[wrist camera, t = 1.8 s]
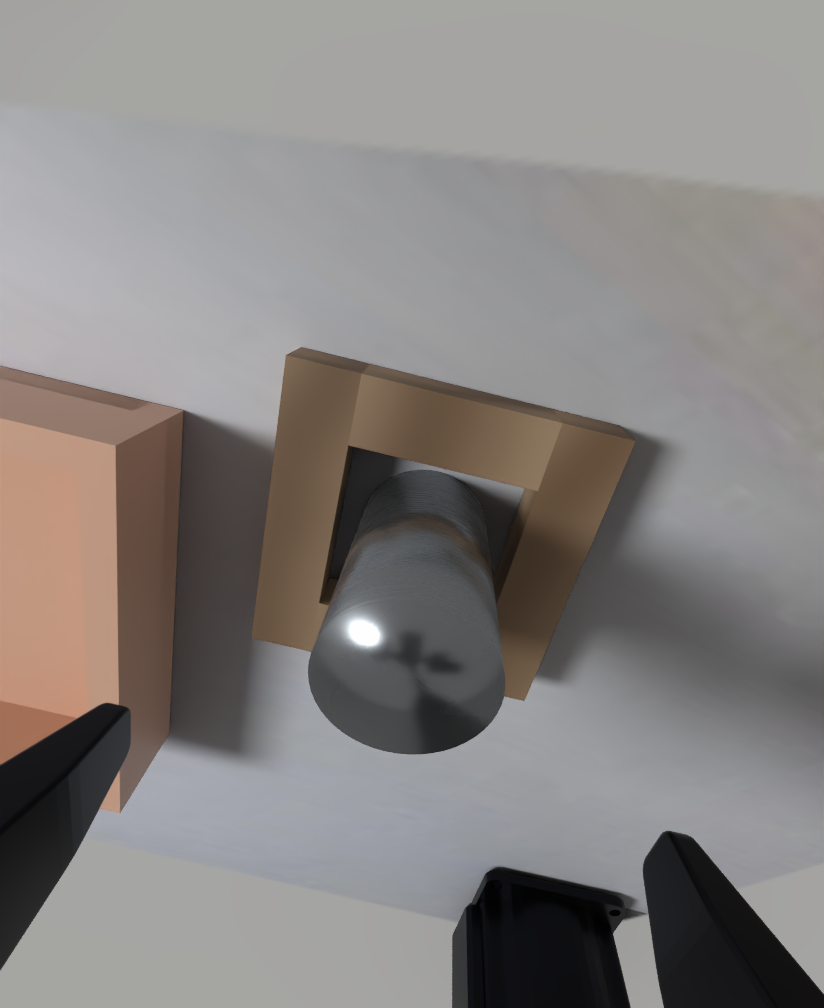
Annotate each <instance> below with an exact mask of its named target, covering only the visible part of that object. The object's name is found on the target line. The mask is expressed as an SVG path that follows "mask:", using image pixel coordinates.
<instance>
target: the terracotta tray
mask: <svg viewBox="0 0 824 1008" xmlns="http://www.w3.org/2000/svg"><path fill="white" fill-rule="evenodd" d="M182 432H183V410H179V409H175V408H171V407H167V406H163V405H159V404H155V403H151V402H146V401H142V400H138V399H134V398H130V397H126V396H122V395H117V394H113V393H109V392H105V391H101V390H97V389H93V388H89V387H84V386H80V385H76V384H72V383H68V382H64V381H60V380H56V379H51V378H47V377H43V376H39V375H35V374H31V373H27V372H22V371H18V370H14V369H10V368H6V367H2V366H0V764H2V763H4V762H5V761H7V760H9V759H10V758H12V757H14V756H15V755H17V754H19V753H20V752H22V751H24V750H25V749H27V748H29V747H30V746H32V745H34V744H35V743H37V742H38V741H40V740H42V739H43V738H45V737H47V736H48V735H50V734H52V733H53V732H55V731H57V730H58V729H60V728H62V727H63V726H65V725H67V724H68V723H70V722H72V721H73V720H75V719H77V718H78V717H80V716H82V715H83V714H85V713H87V712H88V711H90V710H92V709H93V708H95V707H97V706H98V705H100V704H103V703H112V704H117V705H121V706H126V707H128V708H129V709H130V711H131V745H130V749H129V752H128V754H127V757H126V759H125V761H124V763H123V764H122V766H121V768H120V770H119V772H118V774H117V776H116V778H115V780H114V782H113V784H112V785H111V787H110V789H109V791H108V793H107V795H106V797H105V799H104V801H103V803H102V804H101V806H100V808H99V809H104V810H109V811H113V812H118V813H121V811H122V809H123V808H124V806H125V804H126V803H127V801H128V800H129V798H130V796H131V795H132V793H133V791H134V790H135V788H136V787H137V785H138V783H139V782H140V780H141V778H142V777H143V775H144V774H145V772H146V770H147V769H148V767H149V765H150V764H151V762H152V761H153V759H154V757H155V756H156V754H157V752H158V751H159V749H160V748H161V746H162V744H163V743H164V741H165V739H166V738H167V736H168V734H169V728H170V706H171V683H172V660H173V637H174V614H175V592H176V569H177V546H178V523H179V501H180V478H181V455H182Z"/></svg>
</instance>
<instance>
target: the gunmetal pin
mask: <svg viewBox="0 0 824 1008" xmlns="http://www.w3.org/2000/svg"><path fill="white" fill-rule="evenodd" d="M308 677H309V684H310V688H311V692H312V694H313V697H314V699H315V701H316V703H317V705H318V707H319V708H320V710H321V711H322V712H323V714H324V715H325V716H326V718H327V719H328V720H329V721H330V722H331V723H332V724H333V725H334V726H336V727H337V728H338V729H339V730H341V731H342V732H343V733H345V734H346V735H348V736H349V737H351V738H353V739H355V740H357V741H359V742H361V743H363V744H365V745H368V746H370V747H373V748H376V749H380V750H383V751H387V752H393V753H400V754H427V753H435V752H440V751H444V750H448V749H451V748H454V747H456V746H459V745H461V744H463V743H465V742H467V741H469V740H470V739H472V738H474V737H475V736H477V735H478V734H479V733H480V732H482V731H483V730H484V729H485V728H486V727H487V726H488V725H489V724H490V723H491V722H492V720H493V719H494V717H495V716H496V715H497V713H498V711H499V709H500V707H501V704H502V701H503V698H504V693H505V671H504V663H503V655H502V647H501V639H500V631H499V624H498V616H497V608H496V600H495V592H494V584H493V576H492V568H491V560H490V552H489V544H488V536H487V528H486V520H485V515H484V512H483V509H482V506H481V504H480V502H479V500H478V499H477V497H476V496H475V495H474V493H473V492H472V491H471V490H470V489H469V488H468V487H467V486H466V485H464V484H463V483H462V482H460V481H459V480H457V479H456V478H454V477H452V476H449V475H447V474H444V473H441V472H436V471H431V470H415V471H409V472H404V473H401V474H398V475H396V476H394V477H392V478H390V479H389V480H387V481H385V482H384V483H383V484H382V485H380V486H379V487H378V488H377V489H376V490H375V492H374V493H373V494H372V496H371V497H370V499H369V500H368V503H367V505H366V507H365V510H364V513H363V515H362V518H361V521H360V523H359V526H358V529H357V531H356V534H355V537H354V539H353V542H352V545H351V547H350V550H349V553H348V555H347V558H346V561H345V564H344V566H343V569H342V572H341V574H340V577H339V580H338V582H337V585H336V588H335V590H334V593H333V596H332V598H331V601H330V604H329V607H328V609H327V612H326V615H325V617H324V620H323V623H322V625H321V628H320V631H319V633H318V636H317V639H316V641H315V644H314V647H313V649H312V652H311V656H310V660H309V667H308Z"/></svg>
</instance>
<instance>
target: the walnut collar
mask: <svg viewBox="0 0 824 1008" xmlns="http://www.w3.org/2000/svg"><path fill="white" fill-rule="evenodd" d="M635 442H636V441H635V440H634V439H633V438H632V437H631V436H630V435H629V434H628V433H627V432H626V431H625V430H623V429H622V428H621V427H620V426H619V425H615V424H611V423H607V422H602V421H598V420H594V419H590V418H586V417H582V416H578V415H574V414H570V413H566V412H562V411H558V410H554V409H550V408H546V407H542V406H538V405H534V404H530V403H525V402H521V401H517V400H513V399H509V398H505V397H501V396H497V395H493V394H489V393H485V392H481V391H477V390H473V389H469V388H465V387H461V386H457V385H453V384H448V383H444V382H440V381H436V380H432V379H428V378H424V377H420V376H416V375H412V374H408V373H404V372H400V371H396V370H392V369H388V368H384V367H380V366H376V365H371V364H367V363H363V362H359V361H355V360H351V359H347V358H343V357H339V356H335V355H331V354H327V353H323V352H319V351H315V350H311V349H307V348H303V347H301V348H299V349H297V350H295V351H293V352H291V353H289V354H287V355H286V360H285V368H284V376H283V384H282V393H281V401H280V409H279V417H278V425H277V433H276V441H275V449H274V458H273V466H272V474H271V482H270V490H269V498H268V506H267V514H266V522H265V531H264V539H263V547H262V555H261V563H260V571H259V579H258V587H257V595H256V604H255V612H254V620H253V628H252V636H251V638H254V639H259V640H263V641H267V642H272V643H276V644H280V645H285V646H289V647H293V648H298V649H302V650H306V651H311V652H312V649H313V647H314V644H315V641H316V639H317V636H318V633H319V631H320V628H321V625H322V623H323V620H324V617H325V615H326V612H327V609H328V607H329V604H330V601H331V598H332V596H333V593H334V590H335V588H336V585H337V582H338V580H336V579H332V578H329V576H330V571H331V566H332V561H333V556H334V550H335V545H336V540H337V535H338V529H339V524H340V519H341V514H342V508H343V503H344V498H345V493H346V488H347V482H348V477H349V472H350V467H351V461H352V456H353V451H354V447H357V448H361V449H366V450H370V451H374V452H378V453H382V454H386V455H390V456H394V457H399V458H403V459H407V460H411V461H415V462H419V463H423V464H427V465H432V466H436V467H440V468H444V469H448V470H452V471H456V472H460V473H465V474H469V475H473V476H477V477H481V478H485V479H489V480H493V481H498V482H502V483H506V484H510V485H514V486H518V487H522V488H525V490H524V493H523V496H522V498H521V501H520V504H519V507H518V510H517V513H516V516H515V518H514V521H513V524H512V527H511V530H510V533H509V536H508V538H507V541H506V544H505V547H504V550H503V553H502V556H501V558H500V561H499V564H498V567H497V570H496V573H495V576H494V579H493V584H494V592H495V600H496V608H497V616H498V624H499V631H500V639H501V647H502V655H503V663H504V671H505V693H504V696H505V697H510V698H514V699H518V700H523V701H524V700H525V698H526V696H527V693H528V691H529V689H530V686H531V684H532V682H533V679H534V677H535V675H536V672H537V670H538V668H539V665H540V663H541V661H542V659H543V656H544V654H545V652H546V649H547V647H548V645H549V642H550V640H551V638H552V635H553V633H554V631H555V628H556V626H557V624H558V621H559V619H560V617H561V614H562V612H563V610H564V607H565V605H566V603H567V600H568V598H569V596H570V593H571V591H572V589H573V586H574V584H575V582H576V579H577V577H578V575H579V572H580V570H581V568H582V565H583V563H584V561H585V558H586V556H587V554H588V551H589V549H590V547H591V544H592V542H593V540H594V537H595V535H596V533H597V530H598V528H599V526H600V523H601V521H602V519H603V516H604V514H605V512H606V509H607V507H608V505H609V502H610V500H611V498H612V495H613V493H614V491H615V489H616V486H617V484H618V482H619V479H620V477H621V475H622V472H623V470H624V468H625V465H626V463H627V461H628V458H629V456H630V454H631V451H632V449H633V447H634V444H635Z"/></svg>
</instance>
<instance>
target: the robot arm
mask: <svg viewBox="0 0 824 1008" xmlns="http://www.w3.org/2000/svg"><path fill="white" fill-rule="evenodd" d="M130 745H131V711H130V709H129V708H128V707H126V706H121V705H117V704H112V703H103V704H100V705H98V706H97V707H95V708H93V709H92V710H90V711H88V712H87V713H85V714H83V715H82V716H80V717H78V718H77V719H75V720H73V721H72V722H70V723H68V724H67V725H65V726H63V727H62V728H60V729H58V730H57V731H55V732H53V733H52V734H50V735H48V736H47V737H45V738H43V739H42V740H40V741H38V742H37V743H35V744H34V745H32V746H30V747H29V748H27V749H25V750H24V751H22V752H20V753H19V754H17V755H15V756H14V757H12V758H10V759H9V760H7V761H5V762H4V763H2V764H0V970H1V969H2V967H3V966H4V964H5V962H6V961H7V959H8V958H9V956H10V955H11V953H12V952H13V950H14V949H15V947H16V946H17V944H18V942H19V941H20V939H21V938H22V936H23V935H24V933H25V932H26V930H27V928H28V927H29V925H30V924H31V922H32V921H33V919H34V918H35V916H36V915H37V913H38V912H39V910H40V908H41V907H42V905H43V904H44V902H45V901H46V899H47V898H48V896H49V895H50V893H51V892H52V890H53V888H54V887H55V885H56V884H57V882H58V881H59V879H60V878H61V876H62V875H63V873H64V871H65V870H66V868H67V867H68V865H69V863H70V861H71V860H72V858H73V857H74V855H75V853H76V852H77V850H78V848H79V846H80V844H81V842H82V841H83V839H84V837H85V835H86V833H87V831H88V829H89V827H90V825H91V824H92V822H93V820H94V818H95V816H96V814H97V812H98V810H99V808H100V806H101V804H102V803H103V801H104V799H105V797H106V795H107V793H108V791H109V789H110V787H111V785H112V784H113V782H114V780H115V778H116V776H117V774H118V772H119V770H120V768H121V766H122V764H123V763H124V761H125V759H126V757H127V754H128V752H129V749H130ZM643 878H644V885H645V892H646V899H647V906H648V913H649V919H650V926H651V933H652V940H653V948H654V954H655V962H656V968H657V974H658V980H659V986H660V990H661V995H662V1000H663V1005H664V1008H824V994H823V993H822V992H821V990H820V989H819V988H818V987H817V986H816V984H815V983H814V982H813V981H812V980H811V978H810V977H809V976H808V975H807V974H806V972H805V971H804V970H803V969H802V968H801V966H800V965H799V964H798V963H797V962H796V960H795V959H794V958H793V957H792V956H791V954H790V953H789V952H788V951H787V950H786V949H785V947H784V946H783V945H782V944H781V943H780V941H779V940H778V939H777V938H776V937H775V935H774V934H773V933H772V932H771V931H770V930H769V928H768V927H767V926H766V925H765V923H764V922H763V921H762V920H761V919H760V918H759V916H758V915H757V914H756V913H755V911H754V910H753V909H752V908H751V907H750V905H749V904H748V903H747V902H746V901H745V899H744V898H743V897H742V896H741V895H740V893H739V892H738V891H737V890H736V889H735V887H734V886H733V885H732V884H731V883H730V881H729V880H728V879H727V878H726V877H725V876H724V874H723V873H722V872H721V871H720V870H719V868H718V867H717V866H716V865H715V864H714V862H713V861H712V860H711V859H710V858H709V856H708V855H707V854H706V853H705V852H704V850H703V849H702V848H701V847H700V846H699V844H698V843H697V842H696V841H695V840H694V839H693V838H692V837H690V836H688V835H685V834H681V833H677V832H672V831H665V832H663V833H662V834H661V835H660V837H659V838H658V840H657V841H656V843H655V844H654V846H653V847H652V849H651V850H650V852H649V853H648V855H647V856H646V858H645V860H644V864H643ZM625 915H626V909H625V906H624V902H623V900H622V899H621V898H618V897H615V896H611V895H606V894H602V893H597V892H592V891H588V890H583V889H579V888H574V887H570V886H565V885H561V884H556V883H552V882H547V881H543V880H538V879H534V878H529V877H525V876H520V875H516V874H511V873H507V872H502V871H497V870H493V871H489V872H487V873H486V874H485V876H484V878H483V880H482V882H481V884H480V886H479V888H478V890H477V892H476V895H475V897H474V899H473V901H472V903H470V904H469V905H468V906H467V907H466V908H465V910H464V912H463V914H462V916H461V918H460V920H459V923H458V925H457V927H456V929H455V931H454V933H453V939H452V940H453V943H452V945H453V946H452V950H453V953H452V954H453V955H452V957H453V958H452V968H453V969H452V971H453V973H452V1008H630V1003H629V999H628V995H627V991H626V987H625V982H624V978H623V974H622V970H621V966H620V962H619V957H618V953H617V949H616V945H615V941H614V936H613V932H614V931H615V930H616V928H617V927H618V925H619V924H620V923H621V921H622V920H623V918H624V917H625Z"/></svg>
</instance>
